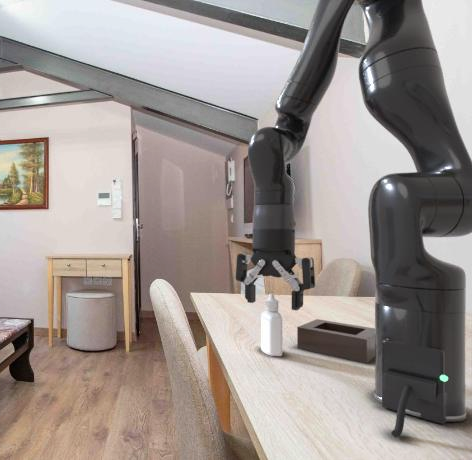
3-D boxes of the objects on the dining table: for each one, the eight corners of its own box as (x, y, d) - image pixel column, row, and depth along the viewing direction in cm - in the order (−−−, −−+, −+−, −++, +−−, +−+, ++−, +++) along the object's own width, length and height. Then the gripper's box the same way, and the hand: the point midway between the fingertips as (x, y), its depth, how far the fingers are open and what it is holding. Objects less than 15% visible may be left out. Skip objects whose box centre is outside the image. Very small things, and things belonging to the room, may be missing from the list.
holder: (366, 363, 71) (366, 339, 71) (297, 348, 80) (297, 327, 80) (382, 351, 78) (382, 329, 78) (316, 338, 87) (316, 319, 87)
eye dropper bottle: (256, 353, 77) (256, 294, 77) (262, 346, 81) (263, 290, 81) (280, 358, 74) (280, 296, 74) (286, 351, 78) (286, 293, 78)
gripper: (229, 227, 81) (229, 302, 81) (305, 227, 70) (304, 315, 70) (247, 226, 86) (246, 298, 86) (320, 227, 74) (320, 309, 75)
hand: (272, 305), depth 78 cm, fingers open, 8 cm apart
